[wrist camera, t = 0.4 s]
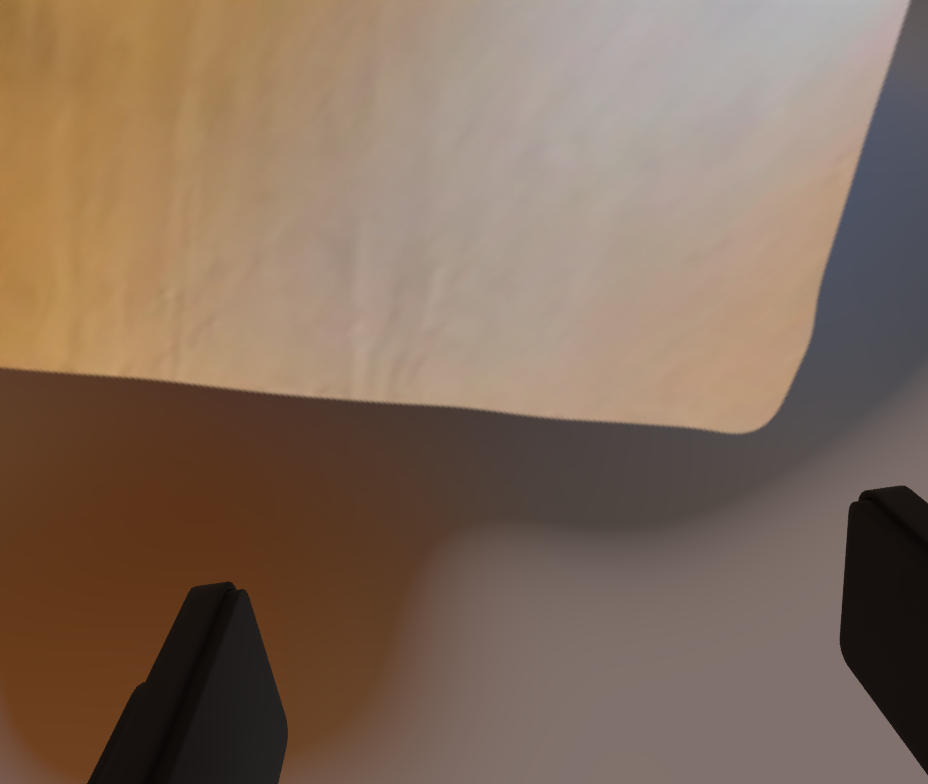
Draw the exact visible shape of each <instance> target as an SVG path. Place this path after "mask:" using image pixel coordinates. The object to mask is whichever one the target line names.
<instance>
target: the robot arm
mask: <svg viewBox="0 0 928 784" xmlns="http://www.w3.org/2000/svg"><path fill="white" fill-rule="evenodd" d="M840 646H841V651H842V655H843V657H844V659H845V662H846V663H847V665H848V667H849V668H850V669H851V671H852V672H853V674H854V675H855V676H856V678H857V679H858V680H859V682H860V683H861V684H862V686H863V687H864V689H865V690H866V691H867V693H868V694H869V695H870V697H871V698H872V699H873V701H874V702H875V704H876V705H877V706H878V708H879V709H880V710H881V712H882V713H883V714H884V716H885V717H886V719H887V720H888V721H889V723H890V724H891V725H892V727H893V728H894V729H895V731H896V732H897V734H898V735H899V736H900V738H901V739H902V740H903V742H904V743H905V744H906V746H907V747H908V748H909V750H910V751H911V753H912V754H913V755H914V757H915V758H916V760H917V761H918V762H919V764H920V765H921V766H922V768H923V769H924V771H925V772H926V773H927V775H928V503H927V502H925V501H924V500H923V499H922V498H921V497H919V496H918V495H917V494H916V493H914V492H913V491H912V490H911V489H909V488H908V487H906V486H894V487H887V488H880V489H873V490H867V491H864V492H862V493H861V495H860V497H859V501H857V502H853V503H851V505H850V507H849V515H848V528H847V543H846V557H845V571H844V586H843V600H842V614H841V628H840ZM287 738H288V728H287V720H286V716H285V713H284V709H283V706H282V703H281V700H280V696H279V693H278V690H277V687H276V683H275V680H274V677H273V674H272V671H271V667H270V664H269V661H268V657H267V654H266V651H265V648H264V644H263V641H262V638H261V635H260V631H259V628H258V625H257V622H256V618H255V615H254V612H253V608H252V606H251V602H250V599H249V596H248V593H247V592H246V590H244V589H241V590H236V588H235V586H234V585H233V583H231V582H223V583H216V584H208V585H202V586H195V587H193V588H191V590H190V591H189V593H188V595H187V597H186V599H185V601H184V603H183V605H182V607H181V610H180V611H179V614H178V616H177V618H176V620H175V622H174V624H173V626H172V628H171V630H170V632H169V634H168V636H167V638H166V640H165V643H164V645H163V647H162V649H161V651H160V653H159V655H158V657H157V659H156V661H155V663H154V665H153V667H152V669H151V671H150V673H149V676H148V678H147V680H146V682H143V683H141V684H140V685H139V686H137V687H136V689H135V690H134V692H133V693H132V695H131V697H130V699H129V701H128V703H127V705H126V707H125V709H124V711H123V713H122V715H121V717H120V719H119V721H118V723H117V725H116V727H115V729H114V731H113V733H112V735H111V737H110V739H109V741H108V743H107V745H106V747H105V749H104V751H103V753H102V755H101V757H100V759H99V761H98V763H97V765H96V767H95V769H94V771H93V773H92V775H91V777H90V779H89V781H88V783H87V784H278V782H279V777H280V773H281V769H282V764H283V760H284V755H285V750H286V746H287Z"/></svg>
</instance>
